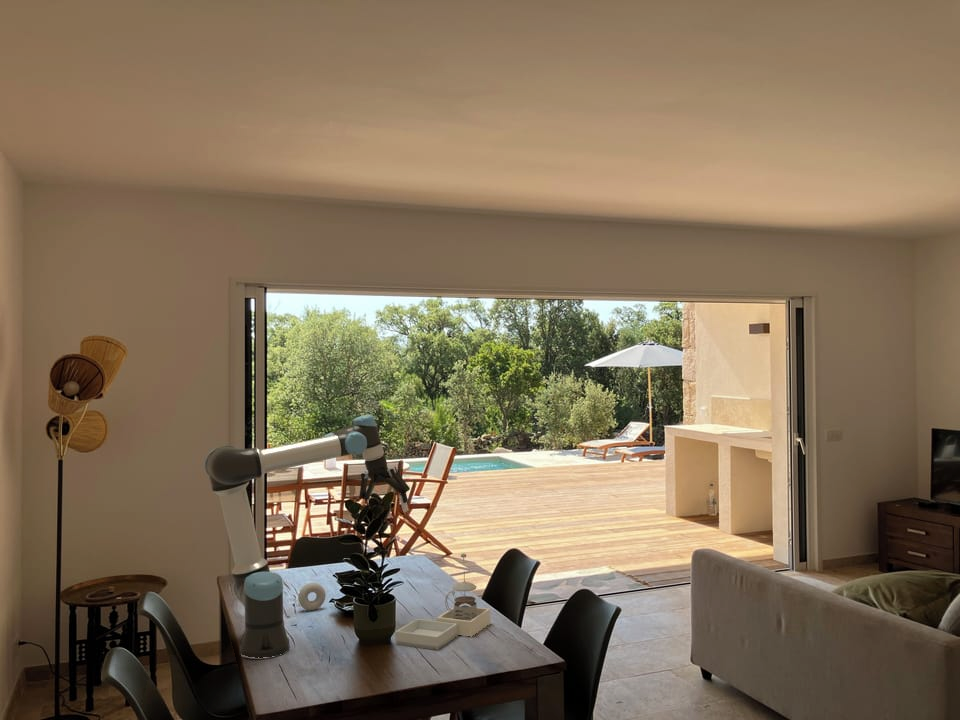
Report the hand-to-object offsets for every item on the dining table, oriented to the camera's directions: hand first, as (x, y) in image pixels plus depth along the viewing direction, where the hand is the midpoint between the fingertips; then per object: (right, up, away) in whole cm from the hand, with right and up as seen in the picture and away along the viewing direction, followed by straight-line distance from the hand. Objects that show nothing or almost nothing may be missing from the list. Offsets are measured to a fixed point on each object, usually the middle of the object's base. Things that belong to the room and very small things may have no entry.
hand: (390, 513), depth 274 cm
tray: (+15, -35, -29) cm, 48 cm away
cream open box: (+27, -35, -19) cm, 48 cm away
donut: (-30, -37, +7) cm, 48 cm away
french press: (+27, -35, -18) cm, 48 cm away
